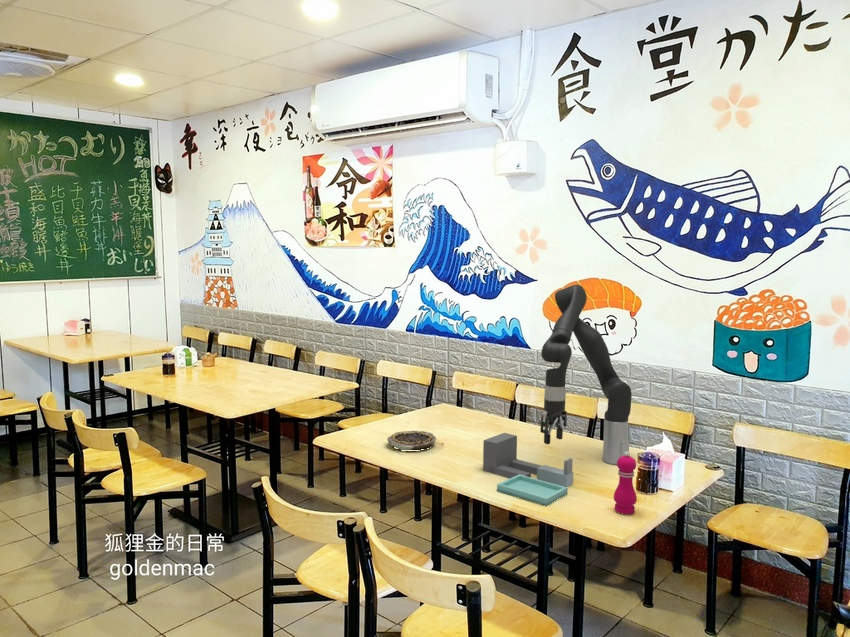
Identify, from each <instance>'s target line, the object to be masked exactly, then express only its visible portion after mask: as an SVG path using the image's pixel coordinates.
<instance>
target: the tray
mask: <svg viewBox="0 0 850 637" xmlns="http://www.w3.org/2000/svg"><path fill="white" fill-rule="evenodd" d="M568 490H569V488H567V487H563V486H560V485H556V484H552V483H549V482H545V481H542V480H538V479H537V478H535V477H532V476H531V477H527V476H524V475H520V474H519V475H517V476H514V477H512V478H508V479H506V480H503V481H501V482H499V483H498V484H496V491H497V492H498V493H501V492H502V494H506V495H508V496H511V495H512V497H514V496H516V498H518V497H519V499H521V498H522V500H524V499H525V501H528V502H531V501H532V502H531V503H534V502H536V503H535V504H537V503H539V504H538V505H541V504H542V505H541V506H544V505H545V507H548V506H550V505H551V504H553V503H555V502H556V500H557V499H559V498H560V499H562V498H564V497H566V496H567V495H568ZM566 494H567V495H566ZM565 495H566V496H565ZM563 496H564V497H563ZM561 497H562V498H561ZM560 499H559V500H560ZM554 501H555V502H554ZM557 501H558V500H557ZM552 502H553V503H552ZM550 503H551V504H550ZM549 504H550V505H549ZM547 505H548V506H547Z"/></svg>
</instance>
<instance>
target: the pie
mask: <svg viewBox="0 0 850 637" xmlns="http://www.w3.org/2000/svg"><path fill="white" fill-rule="evenodd" d="M436 440H437V437H436V436H435V435H434V434H433V433H431V432H428V431H425V430H424V431H423V430H408V431H397V432H394V433H393V434H391V436H390V435H389V436H388V437H387V441H388V443H389V444H390V445H391V446H392V447H393V446H394V447H396V448H398V449H400V450H421V449H427V448H430V447H432V446H433V445H434V444H435V443H436ZM435 445H436V444H435ZM433 447H434V446H433ZM433 447H432V448H433ZM400 450H399V451H400Z"/></svg>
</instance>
